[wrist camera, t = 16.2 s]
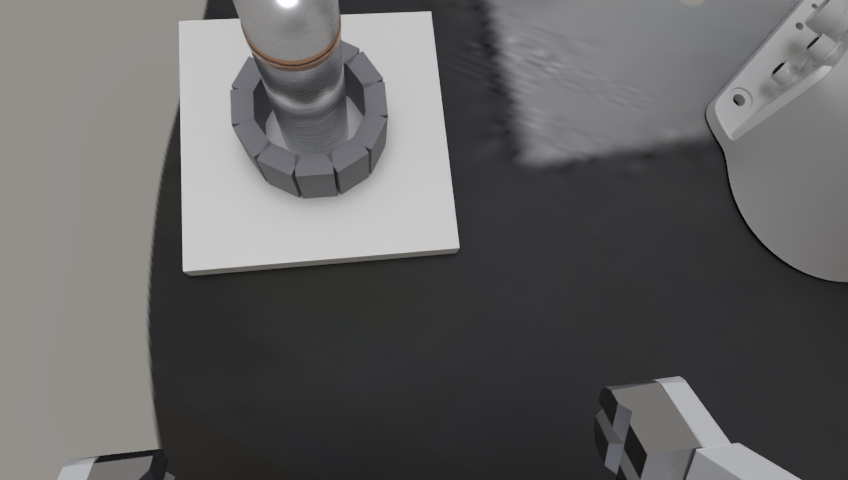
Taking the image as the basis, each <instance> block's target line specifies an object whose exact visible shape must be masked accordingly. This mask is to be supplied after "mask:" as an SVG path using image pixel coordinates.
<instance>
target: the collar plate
mask: <svg viewBox="0 0 848 480" xmlns="http://www.w3.org/2000/svg"><path fill="white" fill-rule="evenodd" d="M341 42H342V54H343V66H344V78H345V90H346V102H347V114H348V126H349V137H348V141H347V142H345V143H343V144H342V145H340V146H339V147H337V148H335V149H334V150H332V151H331V152H329V153H320V154H305V155H297V154H295V153H293V152H290V150H289V149H288V148H287V146H286V144H285V142H284V139H283V136H282V133H281V131H280V128H279V125H278V122H277V120H276V117H275V114H274V112H273V109H272V106H271V103H270V101H269V98H268V95H267V92H266V90H265V87H264V84H263V81H262V79H261V76H260V73H259V71H258V68H257V65H256V62H255V60H254V57H253V54H252V51H251V49H250V48H249V46H248V44H247V41H246V39H245V36H244V33H243V30H242V27H241V21H240V19H220V20H195V21H179V60H180V122H181V183H182V244H183V272H185V273H186V274H188V275H190V276H196V275H208V274H219V273H231V272H243V271H254V270H266V269H278V268H289V267H301V266H313V265H324V264H336V263H347V262H359V261H371V260H382V259H394V258H406V257H417V256H429V255H441V254H452V253H456V252H457V251H458V250H459V248H460V247H459V239H458V230H457V222H456V214H455V206H454V197H453V189H452V181H451V173H450V164H449V156H448V148H447V140H446V131H445V123H444V115H443V107H442V98H441V90H440V82H439V74H438V65H437V57H436V49H435V41H434V32H433V24H432V16H431V11H430V12H404V13H378V14H351V15H341Z"/></svg>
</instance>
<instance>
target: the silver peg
mask: <svg viewBox="0 0 848 480" xmlns="http://www.w3.org/2000/svg"><path fill="white" fill-rule="evenodd" d="M233 2H234V5H235V8H236V10H237V13H238V16H239V19H240V21H241V27H242V30H243V33H244V36H245V39H246V41H247V44H248V46H249V48H250V49H251V51H252V54H253V57H254V60H255V62H256V65H257V68H258V71H259V73H260V76H261V79H262V81H263V84H264V87H265V90H266V92H267V95H268V98H269V101H270V103H271V106H272V109H273V112H274V114H275V117H276V120H277V122H278V125H279V128H280V131H281V133H282V136H283V139H284V142H285V144H286V146H287V148H288V149H289V150H290V152H293V153H295V154H297V155H305V154H320V153H329V152H331V151H332V150H334V149H335V148H337V147H339V146H340V145H342V144H343V143H345V142H347V141H348V137H349V126H348V114H347V102H346V90H345V78H344V66H343V54H342V42H341V15H340V9H339V5H338V0H233Z"/></svg>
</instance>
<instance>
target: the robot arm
mask: <svg viewBox="0 0 848 480" xmlns="http://www.w3.org/2000/svg"><path fill="white" fill-rule="evenodd" d="M733 99H734V100H736V101H737V102H738V104H739V106H738V105H736V104H735V103H734V101H733ZM706 117H707V121H708V123H709V125H710V127H711V129H712V131H713V133H714V135H715V137H716V138H717V140H718V142H719V143H720V145H721V147H722V148H723V151H724V154H725V158H726V162H727V169H728V175H729V181H730V185H731V189H732V192H733V195H734V198H735V201H736V203H737V205H738V208H739V210H740V212H741V214H742V216H743V217H744V219H745V221H746V222H747V224H748V225H749V227H750V228H751V230H752V231H753V232H754V233H755V235H756V236H757V237H758V238H759V239H760V241H761V242H762V243H763V244H764V245H765V246H766V247H767V248H768V249H769V250H770V251H772V252H773V253H774V254H775V255H776V256H778V257H779V258H780V259H782V260H783V261H785V262H786V263H788V264H789V265H791V266H793V267H794V268H796V269H798V270H800V271H802V272H804V273H807V274H809V275H812V276H815V277H818V278H821V279H825V280H830V281H837V282H848V0H800V1H799V2H798V3H797V5H796V6H795V7H794V8H793V9H792V10H791V11H790V13H789V14H788V15H787V16H786V17H785V18H784V19H783V20H782V22H781V23H780V24H779V25H778V26H777V27H776V28H775V30H774V31H773V32H772V33H771V34H770V35H769V36H768V37H767V39H766V40H765V41H764V42H763V43H762V44H761V45H760V47H759V48H758V49H757V50H756V51H755V52H754V53H753V54H752V56H751V57H750V58H749V59H748V60H747V61H746V62H745V64H744V65H743V66H742V67H741V68H740V69H739V70H738V71H737V73H736V74H735V75H734V76H733V77H732V78H731V79H730V81H729V82H728V83H727V84H726V85H725V86H724V87H723V88H722V90H721V91H720V92H719V93H718V94H717V95H716V96H715V98H714V99H713V100H712V101H711V102H710V103H709V105H708V107H707V109H706ZM599 402H600V404H601V406H602V408H603V410H602V411H601V412H600V413H599V414H598V415H597V416H596V417H595V424H594V434H595V443H596V446H597V449H598V452H599V455H600V457H601V459H602V461H603V463H604V465H605V466H606V467H607V468H609V469H610V470H612V471H613V472H614V473H616V474H617V476H616V480H801V479H799V478H798V477H796V476H794V475H792V474H791V473H789V472H787V471H786V470H784V469H782V468H781V467H779V466H777V465H775V464H774V463H772V462H770V461H769V460H767V459H765V458H764V457H762V456H760V455H758V454H757V453H755V452H753V451H752V450H750V449H748V448H747V447H745V446H743V445H742V444H740V443H733V444H731V443H730V441H729V440H728V439H727V437H726V436H725V434H724V433H723V432H722V430H721V429H720V428H719V426H718V425H717V423H716V422H715V421H714V419H713V418H712V417H711V415H710V414H709V412H708V411H707V410H706V408H705V407H704V406H703V404H702V403H701V401H700V400H699V399H698V397H697V396H696V395H695V393H694V392H693V390H692V389H691V388H690V386H689V385H688V384H687V382H686V381H685V380H684V379H683V378H681V377H680V376H677V377H670V378H663V379H655V380H645V381H639V382H632V383H625V384H619V385H612V386H606V387H604V388H603V389H602V390H601V392H600V397H599ZM167 465H168V459H167V457H166V455H165V453H164V451H163V449H156V450H147V451H138V452H130V453H120V454H111V455H103V456H95V457H87V458H79V459H71V460H69V461H68V462H67V463H66V464H65V465H64V466H63V468H62V469H61V471H60V473H59V475H58V478H57V480H176V478H175V477H174V476H173V475H171V474H169V473H167V472H166V469H167Z"/></svg>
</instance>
